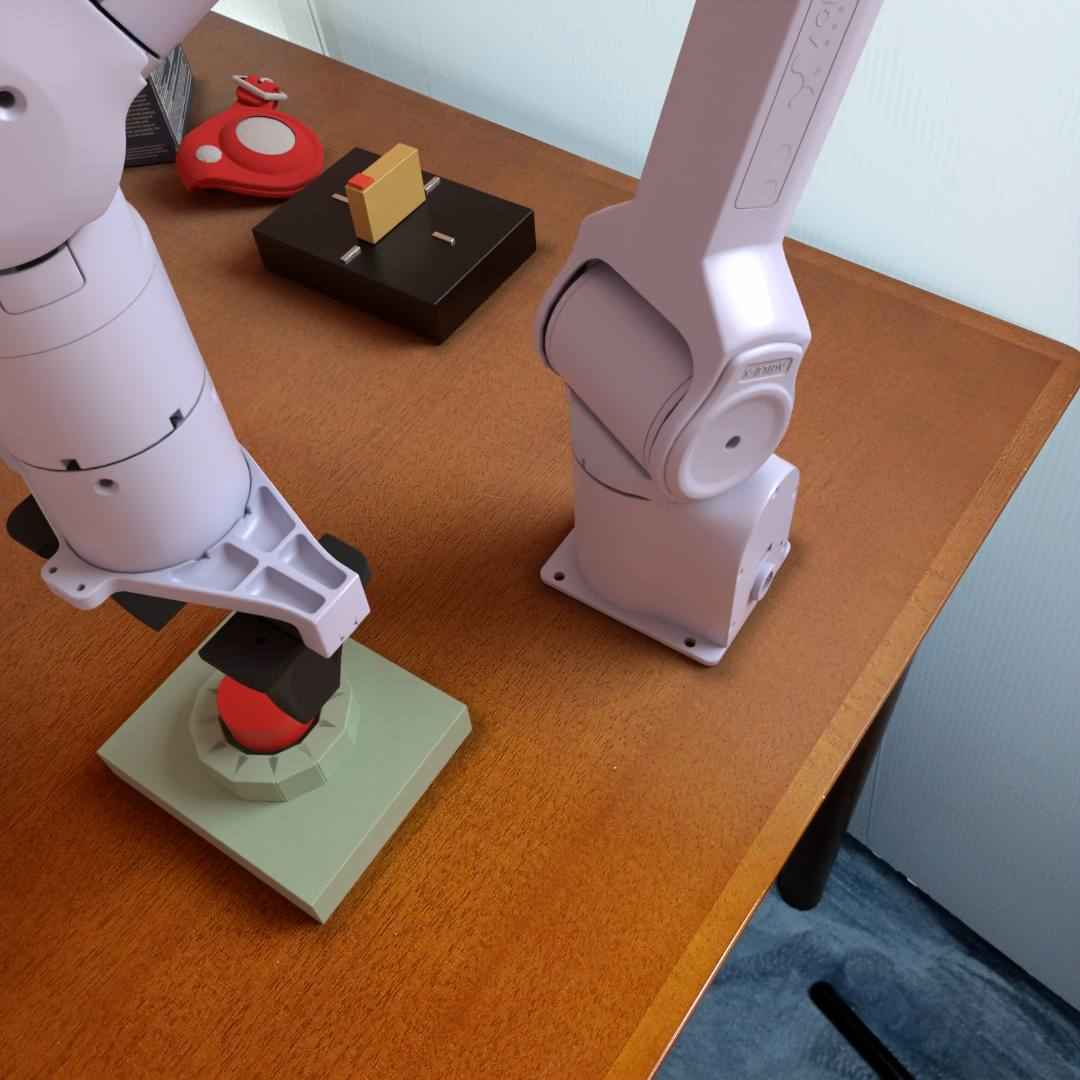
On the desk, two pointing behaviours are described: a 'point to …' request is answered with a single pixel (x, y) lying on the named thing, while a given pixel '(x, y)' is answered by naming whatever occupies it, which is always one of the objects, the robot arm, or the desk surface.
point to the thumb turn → (385, 192)
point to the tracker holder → (251, 147)
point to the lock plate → (399, 249)
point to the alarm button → (256, 718)
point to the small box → (160, 112)
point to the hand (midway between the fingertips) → (241, 653)
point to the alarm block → (294, 772)
